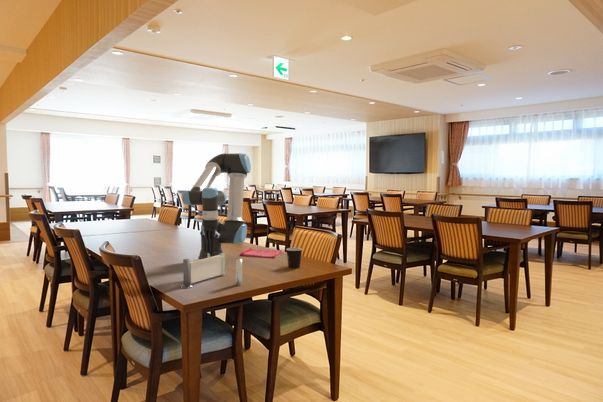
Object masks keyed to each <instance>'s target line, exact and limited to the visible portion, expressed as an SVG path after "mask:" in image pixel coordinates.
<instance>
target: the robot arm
mask: <svg viewBox="0 0 603 402" xmlns="http://www.w3.org/2000/svg"><path fill="white" fill-rule="evenodd" d="M251 166H252V165H251V160H250V157H249V155H248V154H246V153H242V152H241V153H240V152H239V153H220V154H217V155H216V156H214V157H212V158H211V159H209V160H208V162H207V163H206V164H205V167H204V168H205V169H204V170H203V172H202V173H201V174H200V176H199V178H198V179H197V180H196V182H195V183H194V185H193V186H192V188H191V189H190V190H188V189H187V190H185V191H183V192H182V194H181V201H182V203H183V205H187V206H202V208H201V211H202V213H201V214H202V220H201V221H202V223H201V225H200V232H199V234H200V246H201V247H200V251H199V256H197V257H198V258H197V260H200V259H204V258H208V257H212V256H217V255H219V254H221V253H224V252H223V249H222V244H227V245H228V244H229V245H231V244H232V245H239V244H240V245H241V244H243V243H244V242H245V240H246V238H247V235H248V225H247V224H246V223H245V220H244V219H243V206H244V192H245V191H244V190H245V189H244V188H245V179H246V178H247V177H248V174H250V173H251V170H252V169H251ZM220 174H227V176H228V178H229V185H228V186H229V188H228V201H227V194H226V193H225V192H224V191H223V190H218V188H216V187H211V186H212V184H213V182H214V181H215V180H216V178H217V177H218V176H219V175H220ZM226 202H227V217H226V218H225V219H224V221H223V223H222V221H221V220H219V219H218V218H219V209H218V208H219V206H222V205H224V204H225V203H226Z"/></svg>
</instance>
